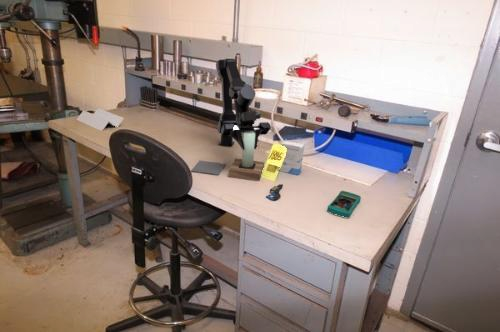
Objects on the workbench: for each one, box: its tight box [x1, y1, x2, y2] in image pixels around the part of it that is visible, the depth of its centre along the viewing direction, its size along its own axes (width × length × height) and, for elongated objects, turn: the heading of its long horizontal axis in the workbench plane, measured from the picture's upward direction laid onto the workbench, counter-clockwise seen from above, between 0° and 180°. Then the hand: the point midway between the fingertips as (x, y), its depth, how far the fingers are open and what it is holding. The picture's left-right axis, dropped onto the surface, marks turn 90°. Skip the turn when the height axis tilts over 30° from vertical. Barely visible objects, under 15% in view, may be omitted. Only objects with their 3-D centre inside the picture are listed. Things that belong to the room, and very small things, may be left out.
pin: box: [241, 131, 255, 167], centre depth 132 cm, size 4×4×13 cm
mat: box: [190, 160, 226, 176], centre depth 138 cm, size 11×11×1 cm
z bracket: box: [76, 108, 125, 131], centre depth 182 cm, size 12×25×6 cm
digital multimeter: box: [326, 190, 362, 218], centre depth 116 cm, size 7×15×3 cm, turn 148°
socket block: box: [228, 158, 265, 182], centre depth 135 cm, size 12×12×3 cm
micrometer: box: [265, 183, 284, 202], centre depth 122 cm, size 12×2×5 cm
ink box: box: [279, 140, 305, 176], centre depth 138 cm, size 9×5×12 cm, turn 65°
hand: (249, 149), depth 131 cm, fingers closed on pin, 4 cm apart
